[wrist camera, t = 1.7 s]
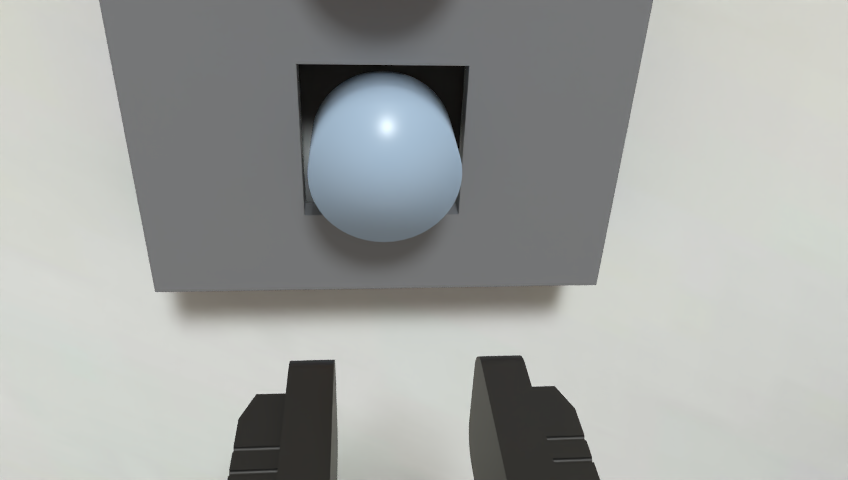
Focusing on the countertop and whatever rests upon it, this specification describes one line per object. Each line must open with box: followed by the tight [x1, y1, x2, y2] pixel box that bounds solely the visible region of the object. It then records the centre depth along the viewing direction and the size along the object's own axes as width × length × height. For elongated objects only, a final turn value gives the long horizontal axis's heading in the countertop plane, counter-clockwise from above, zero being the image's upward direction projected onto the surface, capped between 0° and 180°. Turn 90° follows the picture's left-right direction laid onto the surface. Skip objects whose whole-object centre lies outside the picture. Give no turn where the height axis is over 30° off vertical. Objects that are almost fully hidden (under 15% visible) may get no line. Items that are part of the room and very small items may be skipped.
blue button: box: [308, 71, 462, 242], centre depth 20 cm, size 4×4×2 cm
